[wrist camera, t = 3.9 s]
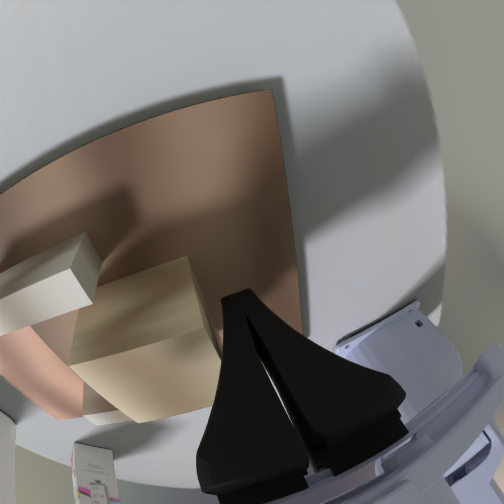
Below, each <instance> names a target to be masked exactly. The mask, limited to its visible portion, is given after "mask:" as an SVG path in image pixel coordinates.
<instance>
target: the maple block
mask: <svg viewBox="0 0 504 504" xmlns="http://www.w3.org/2000/svg"><path fill="white" fill-rule="evenodd" d="M222 347H223V345H222V342H221V339H220V335H219V332H218V330H217V328H216V325H215V323H214V321H213V319H212V316H211V314H210V311H209V309H208V307H207V304H206V302H205V300H204V297H203V295H202V292H201V290H200V287H199V285H198V282H197V280H196V277H195V275H194V272H193V270H192V267H191V265H190V262H189V260H188V257H187V256H184V257H181V258H178V259H175V260H172V261H169V262H166V263H163V264H161V265H158V266H155V267H152V268H149V269H146V270H143V271H141V272H138V273H135V274H132V275H129V276H126V277H124V278H121V279H118V280H115V281H112V282H110V283H107V284H104V285H101V286H99V287H96V291H95V296H94V300H93V304H91V305H88V306H85V307H82V308H79V311H78V316H77V320H76V325H75V330H74V335H73V340H72V346H71V352H70V358H69V365H68V366H69V367H70V368H71V369H72V370H73V371H74V372H75V373H76V374H77V375H78V376H79V377H80V378H81V379H83V380H84V381H85V382H86V383H87V384H88V385H89V386H90V387H92V388H93V389H94V390H95V391H96V392H97V393H99V394H100V395H101V396H102V397H104V398H105V399H106V400H107V401H108V402H110V403H111V404H112V405H114V406H115V407H116V408H118V409H119V410H120V411H121V412H123V413H124V414H126V415H127V416H128V417H130V418H131V419H133V420H134V421H135V422H137V423H143V422H148V421H153V420H158V419H162V418H167V417H171V416H175V415H179V414H183V413H187V412H191V411H195V410H199V409H202V408H206V407H209V406H213V403H214V399H215V394H216V389H217V385H218V380H219V374H220V367H221V359H222Z"/></svg>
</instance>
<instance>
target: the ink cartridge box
mask: <svg viewBox="0 0 504 504" xmlns="http://www.w3.org/2000/svg"><path fill="white" fill-rule="evenodd" d="M71 460H72V477H73V487H74V495H75V503H76V504H121V503H120V498H119V494H118V489H117V483H116V476H115V470H114V463H113V454H112V450H109V449H103V448H98V447H93V446H88V445H84V444H79V443H74V446H73V452H72V458H71Z"/></svg>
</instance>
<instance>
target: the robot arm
mask: <svg viewBox="0 0 504 504" xmlns="http://www.w3.org/2000/svg"><path fill="white" fill-rule="evenodd" d="M220 301H221V305H222V312H223V347H222V359H221V367H220V374H219V380H218V385H217V389H216V394H215V399H214V403H213V406H212V410H211V413H210V416H209V420H208V423H207V426H206V429H205V432H204V435H203V437H202V440H201V442H200V445H199V448H198V450H197V454H196V469H197V476H198V480H199V483H200V487H201V490H202V492H204V493H206V494H212V495H217V497H218V500H219V504H280V503H283V502H286V501H288V500H291V499H294V498H297V497H300V496H302V495H305V494H307V493H310V492H312V491H315V490H317V489H319V488H322V487H324V486H327V485H329V484H331V483H333V482H335V481H337V480H340V479H342V478H344V477H346V476H348V475H350V474H352V473H353V472H355V471H357V470H359V469H361V468H363V467H364V466H366V465H368V464H370V463H372V462H373V461H375V460H376V463H375V472H376V477H374V478H372V479H370V480H369V481H367V482H365V483H363V484H361V485H359V486H357V487H355V488H353V489H351V490H349V491H347V492H345V493H343V494H341V495H339V496H337V497H334V498H332V499H330V500H328V501H325V502H323V503H321V504H504V494H503V493H502V491H501V489H500V488H499V486H498V485H497V484H496V482H495V480H494V479H493V475H494V473H495V471H496V469H497V467H498V465H499V463H500V461H501V459H502V457H503V455H504V436H503V435H502V434H501V432H500V430H499V426H498V424H497V423H496V422H495V420H494V418H493V417H494V415H495V414H496V413H497V411H498V410H499V408H500V407H501V405H502V404H503V402H504V350H503V349H502V348H501V347H500V346H499V345H498V344H497V342H496V341H493V343H492V344H491V345H490V346H489V347H488V348H487V350H485V352H484V353H483V354H482V355H481V356H480V357H479V359H478V360H477V361H476V362H475V364H474V366H473V367H472V368H471V369H470V370H469V371H468V372H467V373H466V374H465V375H464V376H463V377H462V378H461V376H462V373H463V365H462V361H461V358H460V355H459V353H458V351H457V350H456V348H455V347H454V346H453V344H452V343H451V342H450V341H449V340H448V339H447V338H446V337H445V336H444V335H443V333H442V332H441V331H440V330H439V329H438V328H437V327H436V326H435V325H434V324H433V323H432V322H431V321H430V320H429V319H428V318H427V317H426V316H425V314H424V313H423V312H422V311H421V310H420V309H419V307H420V302H419V301H418V300H416V301H414V302H413V303H411V304H410V305H408V306H406V307H405V308H403V309H401V310H400V311H398V312H396V313H395V314H393V315H391V316H389V317H388V318H386V319H384V320H382V321H381V322H379V323H377V324H375V325H373V326H372V327H370V328H368V329H366V330H364V331H362V332H360V333H359V334H357V335H355V336H353V337H351V338H349V339H347V340H345V341H343V342H341V343H339V344H338V345H337V346H336V347H335V352H334V353H332V352H330V351H328V350H326V349H325V348H323V347H321V346H319V345H318V344H316V343H314V342H313V341H311V340H309V339H308V338H306V337H305V336H303V335H302V334H300V333H299V332H298V331H296V330H295V329H293V328H292V327H291V326H289V325H288V324H287V323H286V322H284V321H283V320H282V319H281V318H280V317H278V316H277V315H276V314H275V313H274V312H273V311H272V310H270V309H269V308H268V307H267V306H266V305H265V304H264V303H263V302H262V301H261V300H260V299H259V297H258V296H257V295H256V294H255V293H254V292H253V290H252V289H250V288H248V289H245V290H242V291H239V292H236V293H233V294H231V295H228V296H225V297H222V299H221V300H220ZM260 359H261V360H260ZM261 361H262V362H261ZM262 363H263V364H262ZM263 365H264V366H263ZM264 367H265V368H264ZM265 369H266V370H267V372H268V374H269V376H270V377H271V379H272V381H273V383H274V385H275V387H276V389H277V391H278V392H279V395H280V397H281V399H282V401H283V404H284V406H285V408H286V410H287V413H288V415H289V417H290V419H291V421H290V419H289V417H288V415H287V413H286V411H285V409H284V407H283V405H282V403H281V401H280V399H279V397H278V395H277V393H276V391H275V389H274V387H273V385H272V383H271V381H270V379H269V377H268V375H267V373H266V370H265ZM291 422H292V423H291ZM309 462H310V464H311V466H312V468H313V470H314V472H315V474H314V475H311V476H309V477H306V478H304V476H305V475H307V474H308V472H307V468H308V467H309Z"/></svg>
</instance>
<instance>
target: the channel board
mask: <svg viewBox="0 0 504 504" xmlns="http://www.w3.org/2000/svg"><path fill="white" fill-rule="evenodd" d="M184 256H187V257H188V260H189V262H190V265H191V267H192V270H193V272H194V275H195V277H196V280H197V282H198V285H199V287H200V290H201V292H202V295H203V297H204V300H205V302H206V304H207V307H208V309H209V311H210V314H211V316H212V319H213V321H214V323H215V325H216V328H217V330H218V332H219V335H220V339H221V342H222V345H223V312H222V305H221V301H220V300H221V299H222V297H225V296H228V295H231V294H233V293H236V292H239V291H242V290H245V289H248V288H250V289H252V290H253V292H254V293H255V294H256V295H257V296H258V297H259V299H260V300H261V301H262V302H263V303H264V304H265V305H266V306H267V307H268V308H269V309H270V310H272V311H273V312H274V313H275V314H276V315H277V316H278V317H280V318H281V319H282V320H283V321H284V322H286V323H287V324H288V325H289V326H291V327H292V328H293V329H295V330H296V331H298V332H299V333H300V334H302V335H303V332H302V319H301V306H300V295H299V284H298V274H297V264H296V255H295V245H294V237H293V228H292V220H291V212H290V204H289V196H288V189H287V182H286V175H285V168H284V161H283V154H282V148H281V142H280V135H279V129H278V123H277V117H276V112H275V106H274V100H273V95H272V90H260V91H254V92H249V93H243V94H238V95H233V96H228V97H224V98H219V99H215V100H211V101H207V102H203V103H199V104H195V105H191V106H188V107H184V108H181V109H177V110H174V111H171V112H167V113H164V114H161V115H158V116H155V117H152V118H149V119H146V120H144V121H141V122H138V123H135V124H133V125H130V126H127V127H125V128H122V129H120V130H117V131H115V132H112V133H110V134H108V135H105V136H103V137H101V138H98V139H96V140H94V141H92V142H90V143H88V144H85V145H83V146H81V147H79V148H77V149H75V150H73V151H71V152H69V153H67V154H65V155H63V156H61V157H60V158H58V159H56V160H54V161H52V162H50V163H49V164H47V165H45V166H43V167H42V168H40V169H38V170H37V171H35V172H33V173H32V174H30V175H28V176H27V177H25V178H24V179H22V180H20V181H19V182H17V183H16V184H14V185H13V186H11V187H10V188H8V189H7V190H6V191H4V192H3V193H1V194H0V375H1V376H2V377H3V378H4V379H6V380H7V381H8V382H9V383H10V384H11V385H12V386H14V387H15V388H16V389H17V390H18V391H19V392H21V393H22V394H23V395H24V396H26V397H27V398H28V399H29V400H31V401H32V402H33V403H35V404H36V405H37V406H39V407H40V408H41V409H43V410H44V411H45V412H47V413H48V414H50V415H51V416H53V417H54V418H56V419H68V418H78V417H85V418H87V419H88V420H90V421H91V422H93V423H94V424H96V425H105V424H112V423H119V422H125V421H131V420H133V419H131V418H130V417H128V416H127V415H126V414H124V413H123V412H121V411H120V410H119V409H118V408H116V407H115V406H114V405H112V404H111V403H110V402H108V401H107V400H106V399H105V398H104V397H102V396H101V395H100V394H99V393H97V392H96V391H95V390H94V389H93V388H92V387H90V386H89V385H88V384H87V383H86V382H85V381H84V380H83V379H81V378H80V377H79V376H78V375H77V374H76V373H75V372H74V371H73V370H72V369H71V368H70V367H69V366H68V365H69V358H70V352H71V346H72V340H73V335H74V330H75V325H76V320H77V316H78V311H79V308H82V307H85V306H88V305H91V304H93V300H94V296H95V291H96V287H99V286H101V285H104V284H107V283H110V282H112V281H115V280H118V279H121V278H124V277H126V276H129V275H132V274H135V273H138V272H141V271H143V270H146V269H149V268H152V267H155V266H158V265H161V264H163V263H166V262H169V261H172V260H175V259H178V258H181V257H184ZM260 360H261V359H260ZM261 362H262V361H261ZM262 364H263V363H262ZM263 366H264V365H263ZM264 368H265V367H264ZM265 370H266V369H265Z"/></svg>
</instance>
